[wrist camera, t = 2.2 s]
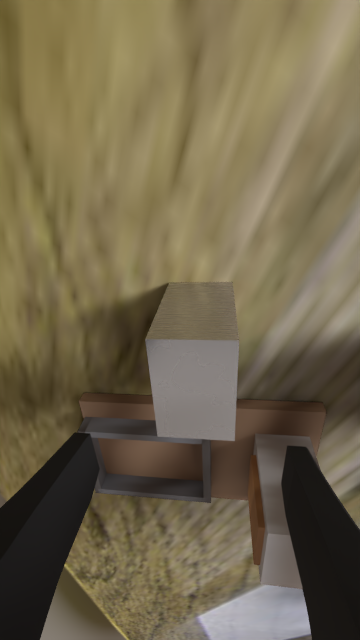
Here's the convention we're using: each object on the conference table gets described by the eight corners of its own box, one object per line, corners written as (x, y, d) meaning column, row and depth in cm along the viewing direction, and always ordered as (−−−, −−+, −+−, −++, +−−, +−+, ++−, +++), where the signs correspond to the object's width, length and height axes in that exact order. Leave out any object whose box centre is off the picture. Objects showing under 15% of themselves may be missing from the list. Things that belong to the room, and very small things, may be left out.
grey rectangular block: (232, 281, 18) (239, 340, 12) (230, 365, 21) (234, 446, 15) (169, 282, 19) (145, 339, 13) (175, 363, 22) (158, 441, 16)
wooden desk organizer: (322, 402, 22) (370, 515, 15) (302, 494, 27) (331, 610, 20) (83, 392, 24) (28, 485, 17) (106, 478, 29) (70, 576, 22)
